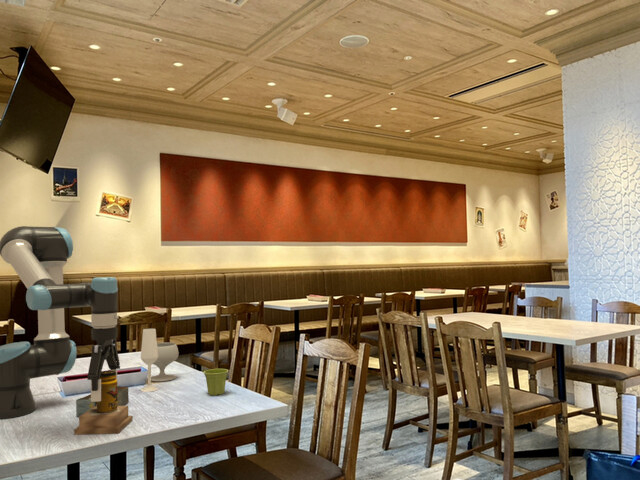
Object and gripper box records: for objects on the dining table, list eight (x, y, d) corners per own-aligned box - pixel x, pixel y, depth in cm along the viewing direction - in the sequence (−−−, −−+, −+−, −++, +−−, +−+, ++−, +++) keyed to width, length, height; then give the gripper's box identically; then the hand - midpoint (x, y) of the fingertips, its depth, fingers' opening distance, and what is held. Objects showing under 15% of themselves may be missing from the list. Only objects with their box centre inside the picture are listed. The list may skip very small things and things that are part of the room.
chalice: (183, 375, 238) (183, 342, 238) (171, 382, 224) (171, 347, 224) (153, 375, 239) (153, 342, 240) (139, 382, 225) (139, 347, 226)
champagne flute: (161, 387, 215) (160, 328, 216) (154, 391, 209) (153, 330, 210) (145, 387, 216) (144, 328, 217) (137, 391, 209) (137, 330, 210)
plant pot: (199, 396, 201) (198, 372, 201) (211, 390, 210) (211, 368, 210) (221, 397, 198) (221, 374, 199) (232, 391, 207) (232, 369, 208)
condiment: (121, 411, 164) (121, 372, 164) (91, 416, 159) (91, 376, 159) (115, 406, 170) (115, 368, 170) (87, 410, 165) (87, 372, 165)
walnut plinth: (74, 434, 158) (74, 417, 158) (91, 421, 171) (91, 405, 171) (118, 433, 158) (118, 416, 158) (132, 420, 171) (132, 404, 171)
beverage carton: (74, 417, 176) (74, 397, 177) (110, 402, 195) (110, 384, 195) (95, 418, 174) (95, 398, 175) (129, 403, 193) (129, 385, 193)
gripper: (101, 331, 153) (101, 406, 152) (129, 321, 178) (129, 385, 177) (75, 332, 153) (75, 406, 152) (107, 322, 178) (107, 386, 177)
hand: (104, 395), depth 165 cm, fingers open, 13 cm apart
